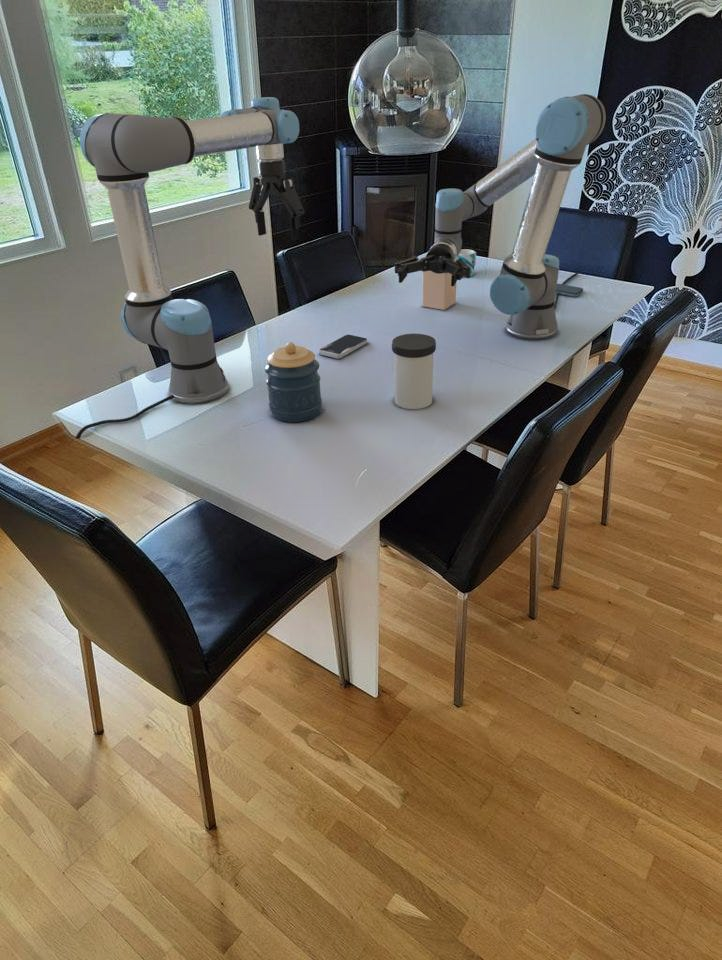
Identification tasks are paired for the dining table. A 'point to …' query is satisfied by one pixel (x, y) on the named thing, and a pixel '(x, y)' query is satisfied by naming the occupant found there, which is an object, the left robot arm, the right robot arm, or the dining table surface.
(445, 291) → the soap dispenser
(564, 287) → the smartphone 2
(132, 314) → the left robot arm
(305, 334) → the dining table surface
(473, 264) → the mug
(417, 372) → the jar
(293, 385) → the canister
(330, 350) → the smartphone
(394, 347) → the lid
